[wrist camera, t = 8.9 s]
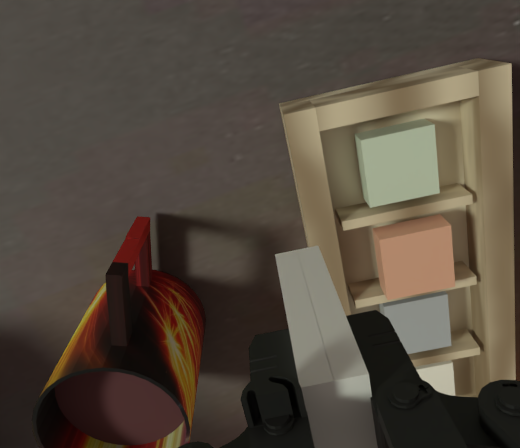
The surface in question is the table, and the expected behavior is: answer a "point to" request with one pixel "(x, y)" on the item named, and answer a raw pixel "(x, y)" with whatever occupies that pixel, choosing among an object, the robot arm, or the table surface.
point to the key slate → (420, 321)
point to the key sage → (398, 162)
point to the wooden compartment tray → (420, 201)
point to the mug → (127, 361)
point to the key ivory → (439, 376)
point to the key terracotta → (414, 256)
